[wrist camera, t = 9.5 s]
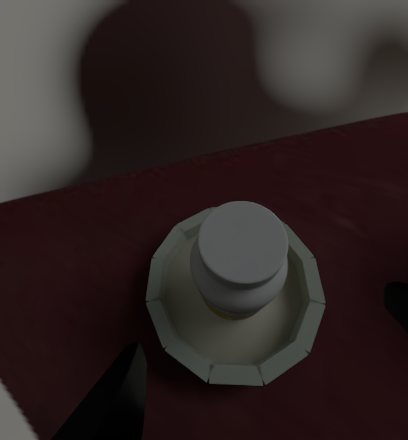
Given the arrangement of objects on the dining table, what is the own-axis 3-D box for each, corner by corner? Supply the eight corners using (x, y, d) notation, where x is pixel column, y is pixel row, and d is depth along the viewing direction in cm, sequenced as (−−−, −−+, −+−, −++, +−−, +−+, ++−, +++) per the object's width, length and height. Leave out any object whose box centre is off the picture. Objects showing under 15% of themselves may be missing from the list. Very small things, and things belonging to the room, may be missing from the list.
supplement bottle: (222, 243, 20) (222, 172, 11) (277, 276, 18) (326, 220, 10) (187, 295, 18) (156, 255, 9) (245, 336, 16) (271, 334, 8)
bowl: (272, 424, 14) (280, 439, 12) (125, 314, 18) (112, 310, 16) (330, 259, 19) (344, 249, 17) (205, 201, 23) (203, 186, 21)
